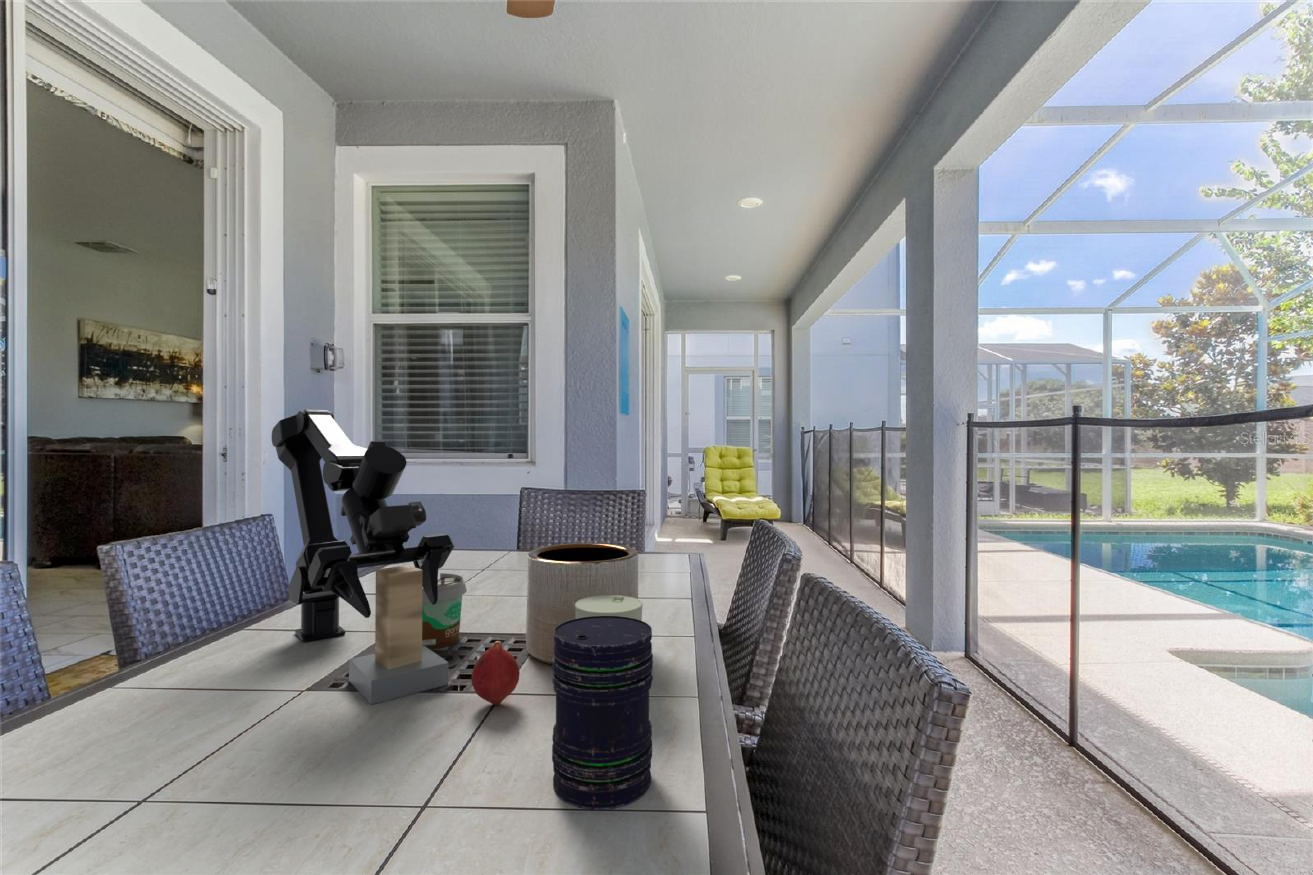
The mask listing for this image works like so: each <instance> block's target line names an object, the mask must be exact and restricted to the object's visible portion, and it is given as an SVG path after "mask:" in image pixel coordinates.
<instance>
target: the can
mask: <svg viewBox="0 0 1313 875" xmlns="http://www.w3.org/2000/svg"><path fill="white" fill-rule="evenodd" d="M643 605H644V604H643V601H641V600H640V599H639V598H638V599H636V598H633V597H628V596H620V595H600V596H592V597H587V598H584V599H581V600H579V601H577V602H576V604H575V610H576V619H578V618H583V617H591V616H621V617H628V618H634V619H637V620H641V621H643Z"/></svg>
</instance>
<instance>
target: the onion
mask: <svg viewBox="0 0 1313 875" xmlns="http://www.w3.org/2000/svg"><path fill="white" fill-rule="evenodd" d="M520 674H521V673H520V667H519V664H518V662H517V660H516V658H515V657H514V656H513V655H512V653H511V652H509V651H507V650H506V649H504V648H503V642H501V641H500V640H496V641H495V642H494V643H493V644H492V645H491V646H490V648H488V649H487V650H485V651H484V652H483V653H482V654H481V655H480V656H479V658H478V659H477V661H476V662H475V664H474V666H473V669H472V672H471V676H470V677H471V679H470V680H471V685H472V687H473V690H474V692H475V693H476V695H477V696H478V697H479V698H481V699H482V700H484V701H486V702H488V703H490V704H492V705H494V706H498V705H500V704H502V702H503V701H504V700H506V698H508V697H509V696H510V695H511V694H512V693H513V692H514V691H515V690H516V687H517V685H518V684H519V680H520Z"/></svg>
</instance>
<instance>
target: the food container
mask: <svg viewBox="0 0 1313 875" xmlns="http://www.w3.org/2000/svg"><path fill="white" fill-rule="evenodd" d="M466 585H467V584H466V582H465V580H464V578H463V576H461V575H458V574H456V573H455V574H454V573H448V572H447V573H444V572H442V573H441V572H440V573H439V579H438V601H437V603H436V604H434V605H433V604H432V603H431V602H430V600H429V599H428V597H427V595H426V593H425V591H424V589H423V588H422V645H424V646H425V647H427V648H428V649H430V650H431V651H433V650H438V649H443V648H446V647H449V646H452V645H455V644H456V643H458V641H459V639H460V628H461V619H462V618H461V616H462V615H461V614H462V604H463V595H464V594H467V586H466Z"/></svg>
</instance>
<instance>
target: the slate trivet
mask: <svg viewBox="0 0 1313 875" xmlns="http://www.w3.org/2000/svg"><path fill="white" fill-rule="evenodd" d="M449 667H450V666H449V661H448V660H446V659H444V658H443V657H441V656H440V655H439V654H437V653H436V652H434V651H433V650H430V649H428V648H427V647H425V646H424V645H422V661H419V662H416V663H412V664H408V665H404V666H400V667H397V668H393V669H388V668H386V667H384V666H383V665H381V664H379V663H378V662H376V661H375V653H371V654H366V655H363V656H357V657H354V658H353V657H352V658H349V659H348V682H349V683H350V684H351V685H352V686H353V687H354V688H355V689H356V690H357V691H358V693H359V694H361V695H362V696H363V697H364V699H365V700H366V701H367V702H368V703H369V704H370V705H374V704H375V705H376V704H378V703H383V702H386V701H390V700H394V699H397V698H401V697H406V696H410V695H414V694H417V693H420V692H424V691H429V690H432V689H436V688H440V687H443V686H444V687H445V686H448V685H449Z"/></svg>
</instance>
